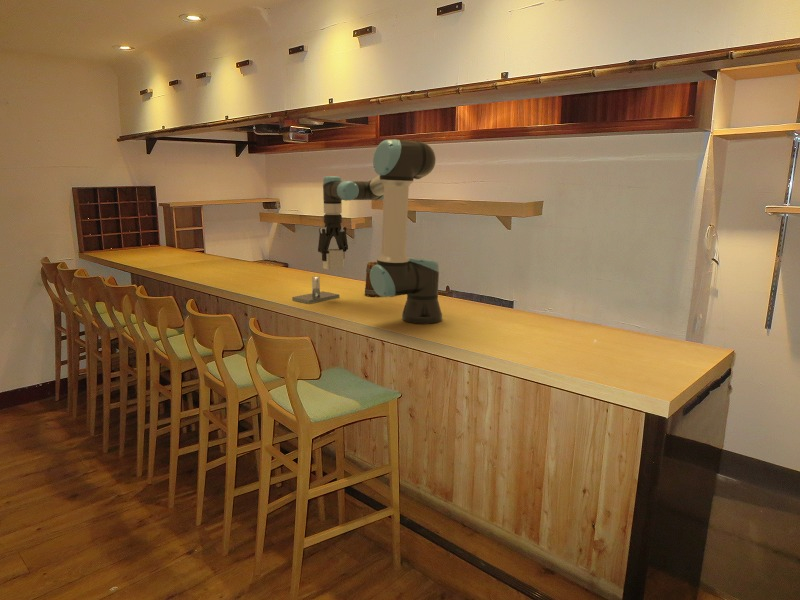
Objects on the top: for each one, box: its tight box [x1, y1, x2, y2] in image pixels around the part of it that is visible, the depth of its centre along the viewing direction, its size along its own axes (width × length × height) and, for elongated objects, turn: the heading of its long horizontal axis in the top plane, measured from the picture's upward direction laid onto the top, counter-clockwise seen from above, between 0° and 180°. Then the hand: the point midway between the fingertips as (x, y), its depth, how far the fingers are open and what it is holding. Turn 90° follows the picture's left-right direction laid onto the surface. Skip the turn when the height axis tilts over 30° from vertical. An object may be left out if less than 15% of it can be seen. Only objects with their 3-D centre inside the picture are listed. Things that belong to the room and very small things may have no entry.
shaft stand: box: [291, 275, 341, 305], centre depth 236 cm, size 11×18×10 cm, turn 141°
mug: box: [364, 261, 382, 298], centre depth 245 cm, size 16×11×15 cm
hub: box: [327, 248, 344, 271], centre depth 227 cm, size 8×8×8 cm
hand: (333, 267), depth 228 cm, fingers closed on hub, 8 cm apart
